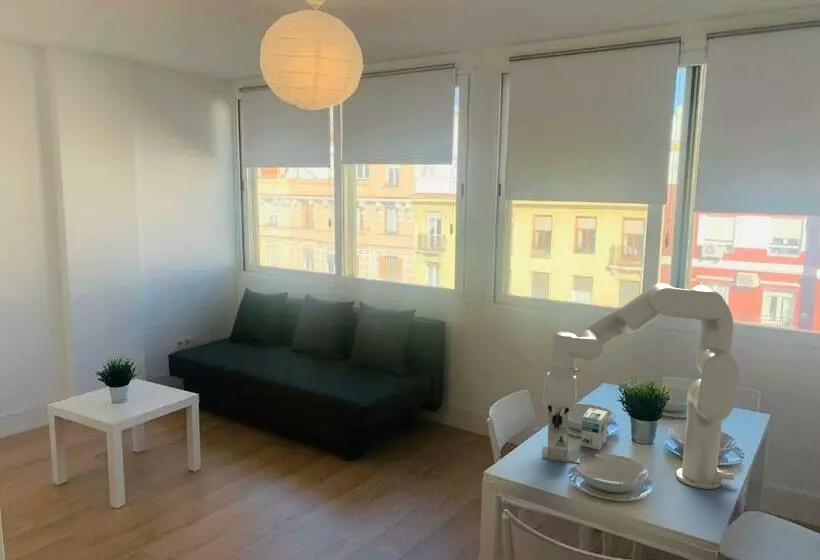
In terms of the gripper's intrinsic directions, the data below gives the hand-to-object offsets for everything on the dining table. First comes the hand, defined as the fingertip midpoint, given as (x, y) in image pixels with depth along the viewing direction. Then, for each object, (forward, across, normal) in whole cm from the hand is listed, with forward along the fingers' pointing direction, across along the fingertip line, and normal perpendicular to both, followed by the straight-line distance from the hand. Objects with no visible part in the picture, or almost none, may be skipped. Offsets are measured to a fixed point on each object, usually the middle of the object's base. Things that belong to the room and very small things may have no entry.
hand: (556, 426), depth 194 cm
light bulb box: (+12, -14, -21) cm, 27 cm away
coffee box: (+9, -1, +2) cm, 9 cm away
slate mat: (+12, -3, -6) cm, 14 cm away
